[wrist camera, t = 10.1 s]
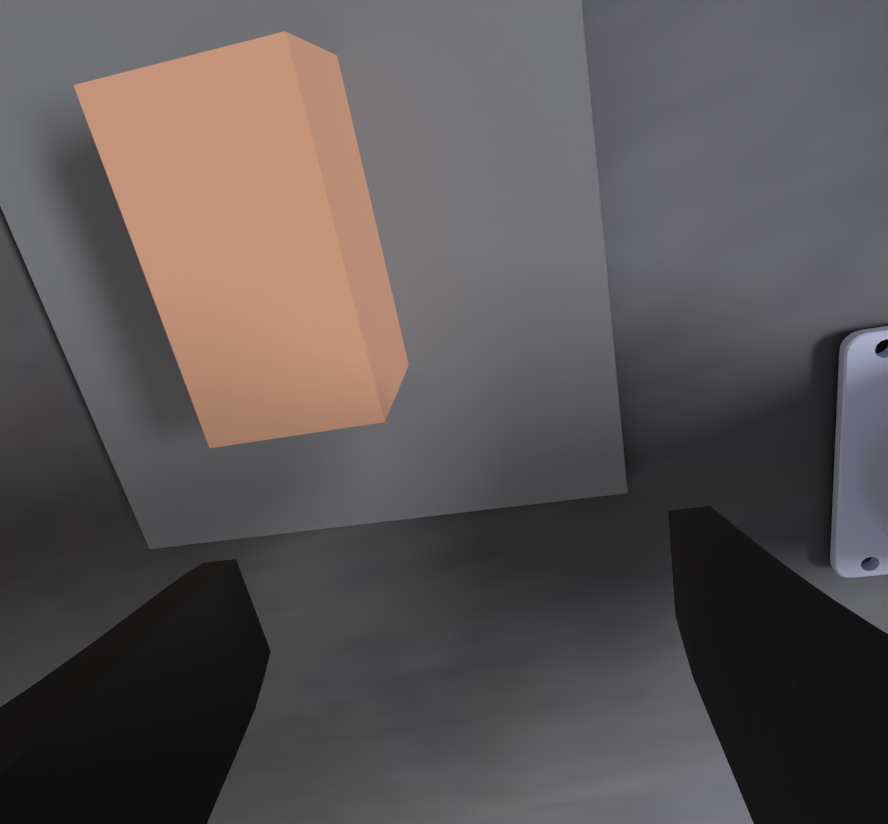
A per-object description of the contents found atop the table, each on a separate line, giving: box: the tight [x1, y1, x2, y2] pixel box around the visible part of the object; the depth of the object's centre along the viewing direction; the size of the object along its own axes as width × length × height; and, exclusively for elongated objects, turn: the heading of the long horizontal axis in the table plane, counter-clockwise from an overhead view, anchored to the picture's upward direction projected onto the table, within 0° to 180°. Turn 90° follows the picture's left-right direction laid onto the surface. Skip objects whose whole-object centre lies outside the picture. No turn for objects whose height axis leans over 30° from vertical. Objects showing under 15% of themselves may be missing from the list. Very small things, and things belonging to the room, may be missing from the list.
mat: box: [0, 0, 628, 549], centre depth 18 cm, size 16×18×1 cm
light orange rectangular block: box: [74, 31, 409, 448], centre depth 16 cm, size 8×4×4 cm, turn 11°
